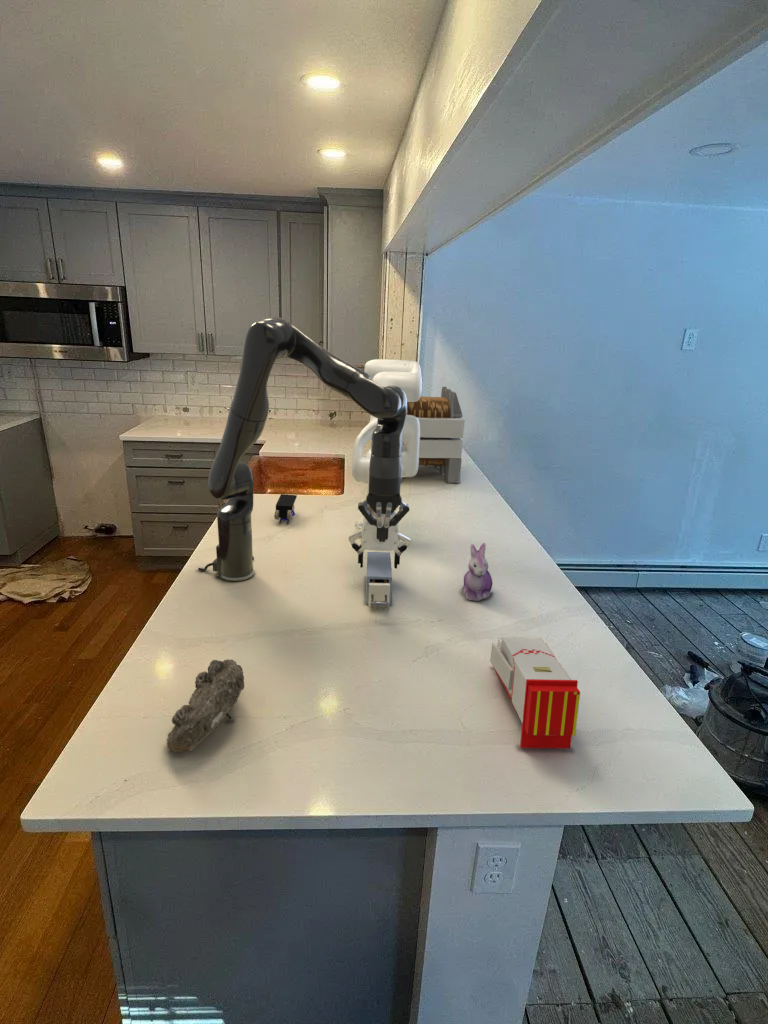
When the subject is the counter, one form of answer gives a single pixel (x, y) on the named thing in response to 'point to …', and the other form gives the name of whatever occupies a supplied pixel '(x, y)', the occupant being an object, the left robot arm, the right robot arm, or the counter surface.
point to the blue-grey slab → (378, 569)
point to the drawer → (379, 593)
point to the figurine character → (285, 507)
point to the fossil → (206, 705)
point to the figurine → (477, 576)
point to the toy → (537, 691)
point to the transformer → (440, 433)
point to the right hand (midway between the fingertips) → (378, 566)
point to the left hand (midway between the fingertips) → (382, 540)
